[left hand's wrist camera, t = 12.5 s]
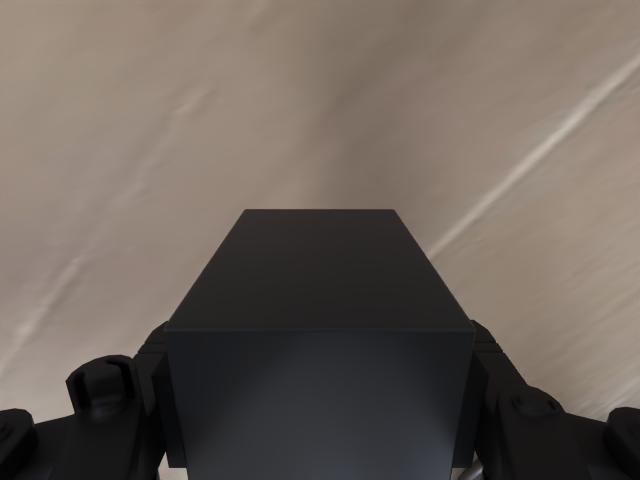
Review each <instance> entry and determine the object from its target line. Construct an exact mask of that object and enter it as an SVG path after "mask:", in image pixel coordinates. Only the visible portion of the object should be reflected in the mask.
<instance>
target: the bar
mask: <svg viewBox="0 0 640 480" xmlns="http://www.w3.org/2000/svg"><path fill="white" fill-rule="evenodd" d="M475 333H476V329H475V327H474V325H473V324H472V322H471V321H470V319H469V318H468V316H467V315H466V314H465V312H464V311H463V309H462V308H461V306H460V305H459V303H458V302H457V300H456V299H455V298H454V296H453V295H452V293H451V292H450V290H449V289H448V287H447V286H446V284H445V283H444V281H443V280H442V279H441V277H440V276H439V274H438V273H437V271H436V270H435V268H434V267H433V265H432V264H431V263H430V261H429V260H428V258H427V257H426V255H425V254H424V252H423V251H422V249H421V248H420V247H419V245H418V244H417V242H416V241H415V239H414V238H413V236H412V235H411V233H410V232H409V231H408V229H407V228H406V226H405V225H404V223H403V222H402V220H401V219H400V217H399V216H398V215H397V213H396V212H395V210H393V209H246V210H244V211H243V213H242V214H241V216H240V217H239V219H238V220H237V222H236V223H235V225H234V226H233V228H232V229H231V230H230V232H229V233H228V235H227V236H226V238H225V239H224V241H223V242H222V244H221V245H220V246H219V248H218V249H217V251H216V252H215V254H214V255H213V257H212V258H211V260H210V261H209V263H208V264H207V265H206V267H205V268H204V270H203V271H202V273H201V274H200V276H199V277H198V279H197V280H196V282H195V283H194V284H193V286H192V287H191V289H190V290H189V292H188V293H187V295H186V296H185V298H184V299H183V300H182V302H181V303H180V305H179V306H178V308H177V309H176V311H175V312H174V314H173V315H172V317H171V318H170V319H169V321H168V322H167V324H166V325H165V327H164V337H165V343H166V349H167V355H168V361H169V367H170V373H171V379H172V385H173V391H174V397H175V403H176V409H177V415H178V421H179V427H180V433H181V439H182V445H183V451H184V457H185V463H186V469H187V475H188V480H450V479H451V473H452V468H453V462H454V456H455V450H456V444H457V438H458V432H459V426H460V421H461V415H462V409H463V403H464V397H465V391H466V385H467V380H468V374H469V368H470V362H471V356H472V350H473V344H474V338H475Z"/></svg>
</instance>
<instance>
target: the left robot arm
mask: <svg viewBox="0 0 640 480" xmlns="http://www.w3.org/2000/svg"><path fill="white" fill-rule="evenodd" d="M470 321H471V322H472V324H473V325H474V327H475V329H476V333H475V338H474V344H473V350H472V356H471V362H470V368H469V374H468V380H467V385H466V391H465V397H464V403H463V409H462V415H461V421H460V426H459V432H458V438H457V444H456V450H455V456H454V462H453V468H468V469H467V470H466V471H465V472H464V473H463V474H462V476H461V477H460V479H459V480H640V409H636V408H630V407H621V408H615V409H614V410H613V411H612V412H610V413H609V416H608V419H607V422H602V421H598V420H593V419H589V418H585V417H580V416H576V415H573V414H569V413H566V412H565V411H564V409H563V408H562V406H561V405H560V403H559V402H558V401H556V400H555V399H554V398H553V397H552V396H550V395H549V394H547V393H545V392H543V391H542V390H540V389H538V388H535V387H531V386H528V385H527V383H526V382H525V380H524V379H523V378H522V376H521V375H520V374H519V372H518V371H517V369H516V368H515V367H514V365H513V364H512V363H511V361H510V360H509V358H508V357H507V356H506V354H505V353H503V350H502V349H501V347H500V346H499V345H498V343H496V340H495V339H494V338H493V336H492V335H491V333H490V332H489V331H488V329H486V328H485V327H483V326H482V325H480V324H479V323H478V322H476V321H475V320H470ZM167 322H168V321H166V322H164V323H163V324H162V325H160V326H159V327H157V328H156V329H155V330H153V331H152V333H151V334H150V335H149V337H148V338H147V339H146V341H145V344H143V345H142V346H141V348H140V349H139V351H138V354H136V355H135V356H134V358H133V359H132V358H131V357H128V356H124V355H108V356H104V357H100V358H97V359H94V360H92V361H90V362H87V363H85V364H83V365H82V366H80V367H79V368H77V369H76V370H75V371H73V372H72V373H71V374H70V376H69V377H68V378H67V380H66V381H65V382H66V385H67V388H68V392H69V395H70V398H71V402H72V405H73V409H74V412H75V413H74V414H73V415H70V416H66V417H62V418H58V419H54V420H49V421H45V422H41V423H37V424H34V421H33V418H32V415H31V414H30V413H29V412H27V411H26V410H23V409H16V408H14V409H8V410H2V411H0V480H160V477H159V472H158V468H159V465H160V463H161V461H162V458H163V456H164V454H165V452H166V455H167V460H168V465H169V468H186V463H185V457H184V451H183V445H182V439H181V433H180V427H179V421H178V415H177V409H176V403H175V397H174V391H173V385H172V379H171V373H170V367H169V361H168V355H167V349H166V343H165V337H164V327H165V325H166V324H167ZM474 451H476V454H477V456H478V458H479V460H477V461H476V462H474V463H473V464H472V462H473V456H474Z"/></svg>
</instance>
